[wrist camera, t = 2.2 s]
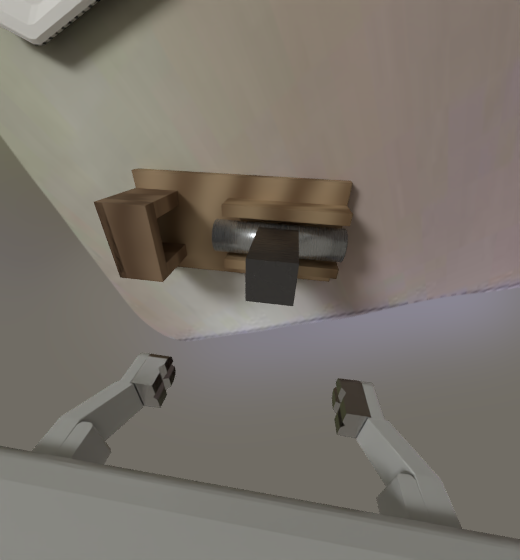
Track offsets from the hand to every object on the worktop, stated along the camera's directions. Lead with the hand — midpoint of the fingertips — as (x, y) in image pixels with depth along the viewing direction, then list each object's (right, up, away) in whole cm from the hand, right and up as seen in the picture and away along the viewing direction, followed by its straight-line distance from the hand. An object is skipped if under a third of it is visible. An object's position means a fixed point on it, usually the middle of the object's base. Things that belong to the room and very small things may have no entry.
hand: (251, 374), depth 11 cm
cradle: (-2, +11, +17) cm, 21 cm away
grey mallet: (+3, +10, +16) cm, 19 cm away
